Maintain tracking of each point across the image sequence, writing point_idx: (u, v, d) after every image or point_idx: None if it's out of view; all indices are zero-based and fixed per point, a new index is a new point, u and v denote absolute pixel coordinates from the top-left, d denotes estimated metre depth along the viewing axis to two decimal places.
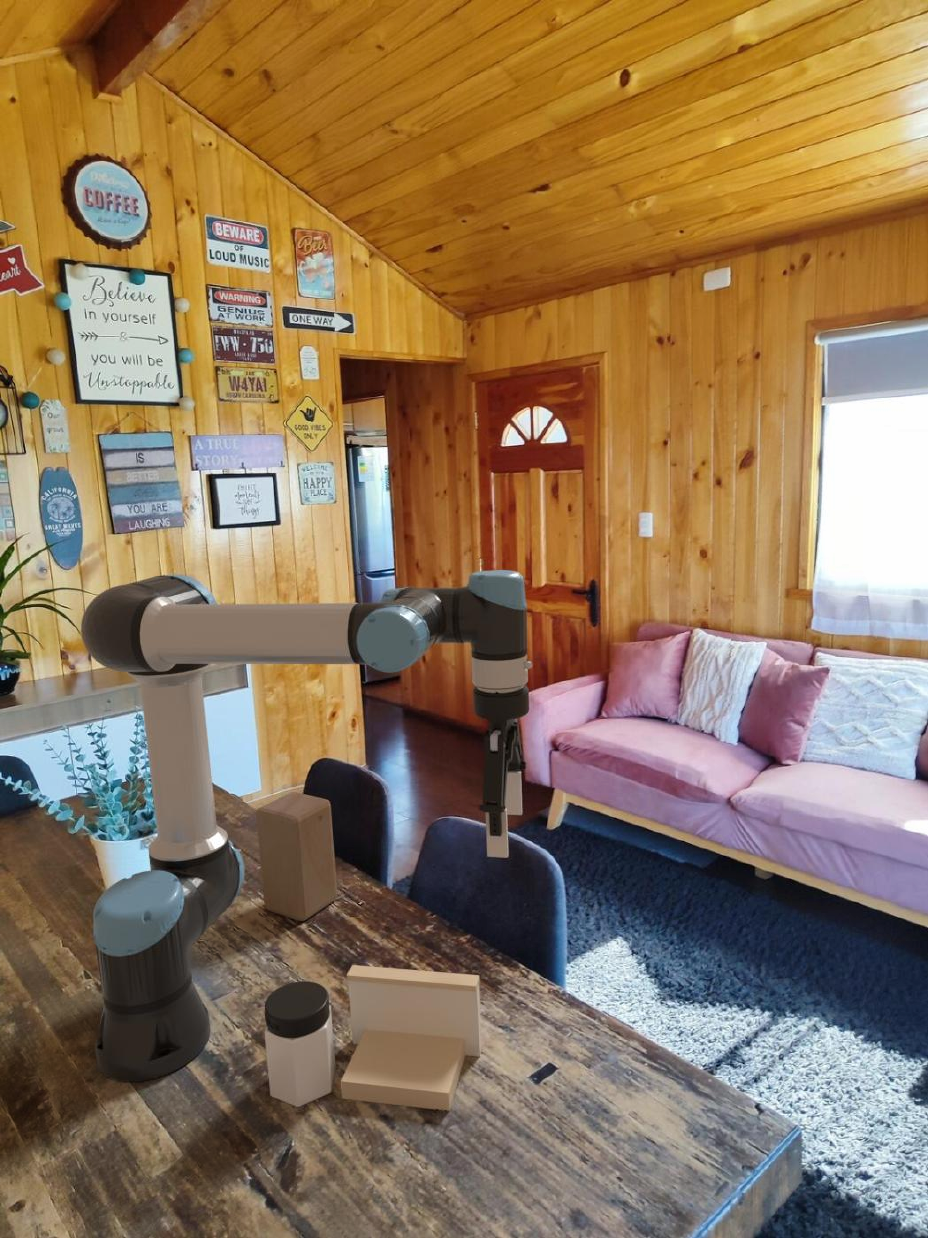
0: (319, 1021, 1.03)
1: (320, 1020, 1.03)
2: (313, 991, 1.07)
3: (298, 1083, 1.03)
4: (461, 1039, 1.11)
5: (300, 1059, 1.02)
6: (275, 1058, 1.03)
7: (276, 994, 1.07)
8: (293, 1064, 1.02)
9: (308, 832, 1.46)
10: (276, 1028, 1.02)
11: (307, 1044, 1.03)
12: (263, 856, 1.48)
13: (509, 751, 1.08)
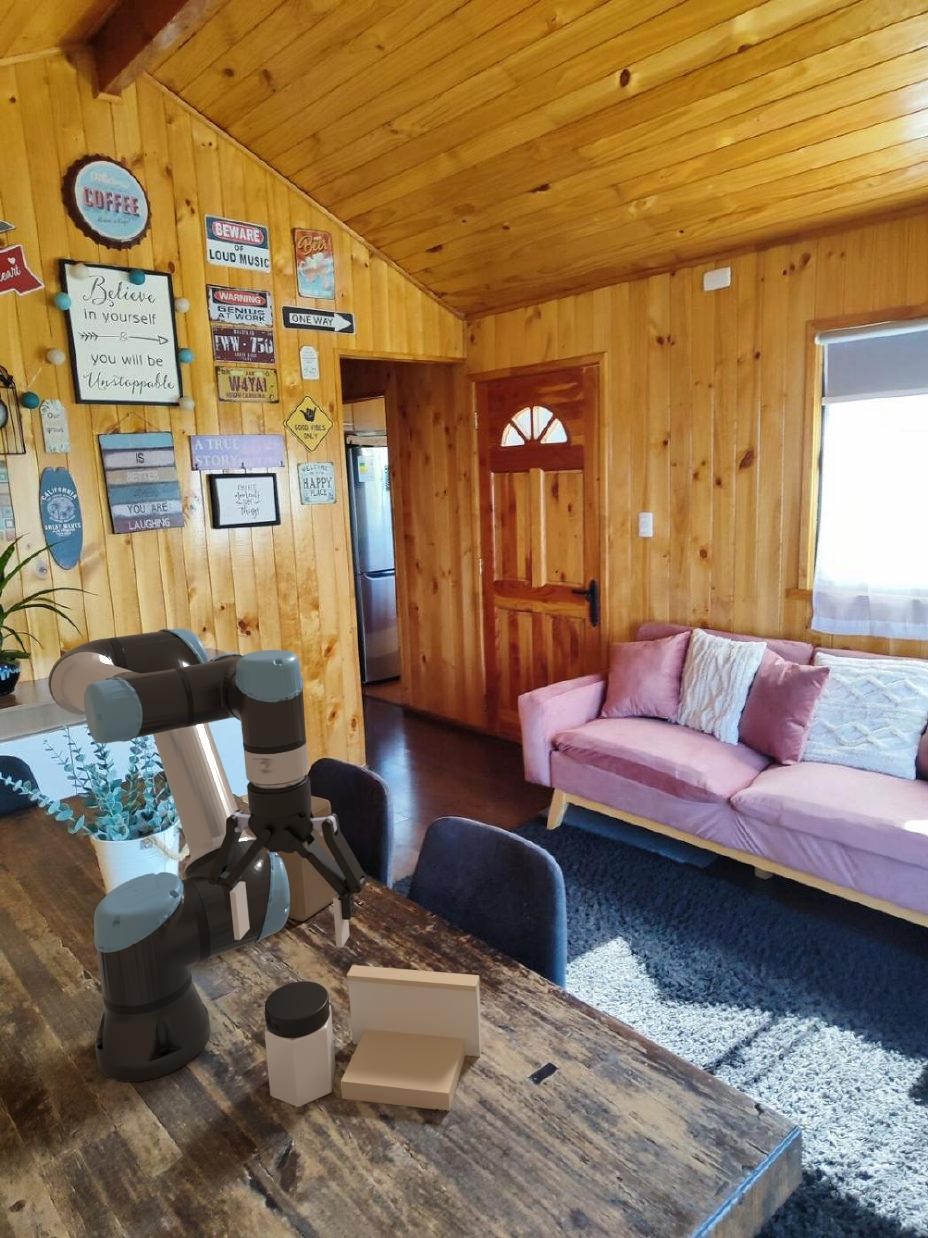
0: (319, 1021, 1.03)
1: (320, 1020, 1.03)
2: (313, 991, 1.07)
3: (298, 1083, 1.03)
4: (461, 1039, 1.11)
5: (300, 1059, 1.02)
6: (275, 1058, 1.03)
7: (276, 994, 1.07)
8: (293, 1064, 1.02)
9: None
10: (276, 1028, 1.02)
11: (307, 1044, 1.03)
12: None
13: None
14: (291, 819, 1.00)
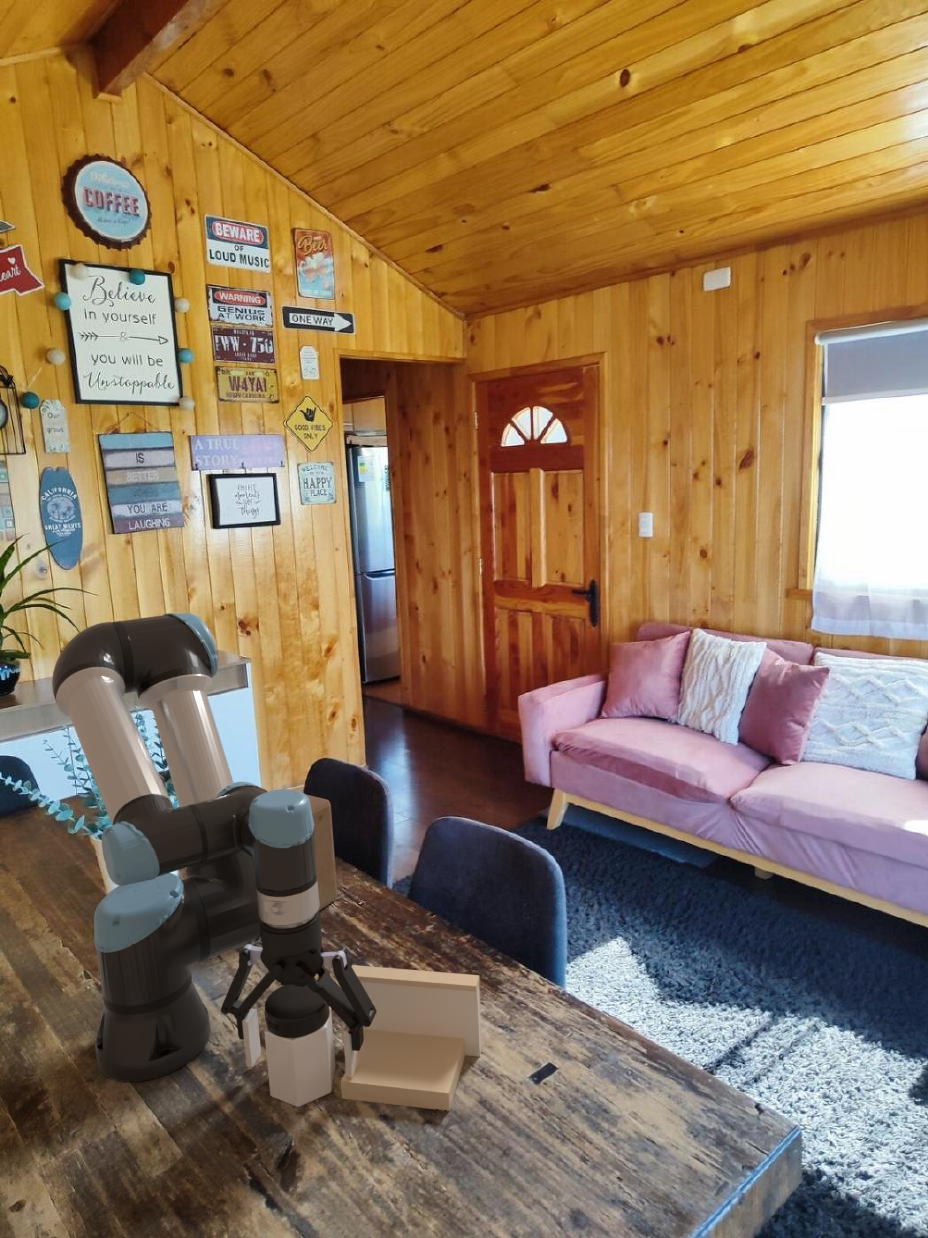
0: (319, 1021, 1.03)
1: (320, 1020, 1.03)
2: None
3: (298, 1083, 1.03)
4: (461, 1039, 1.11)
5: (300, 1059, 1.02)
6: (275, 1058, 1.03)
7: (276, 994, 1.07)
8: (293, 1064, 1.02)
9: None
10: (276, 1028, 1.02)
11: (307, 1044, 1.03)
12: None
13: (264, 977, 1.04)
14: (302, 955, 1.03)
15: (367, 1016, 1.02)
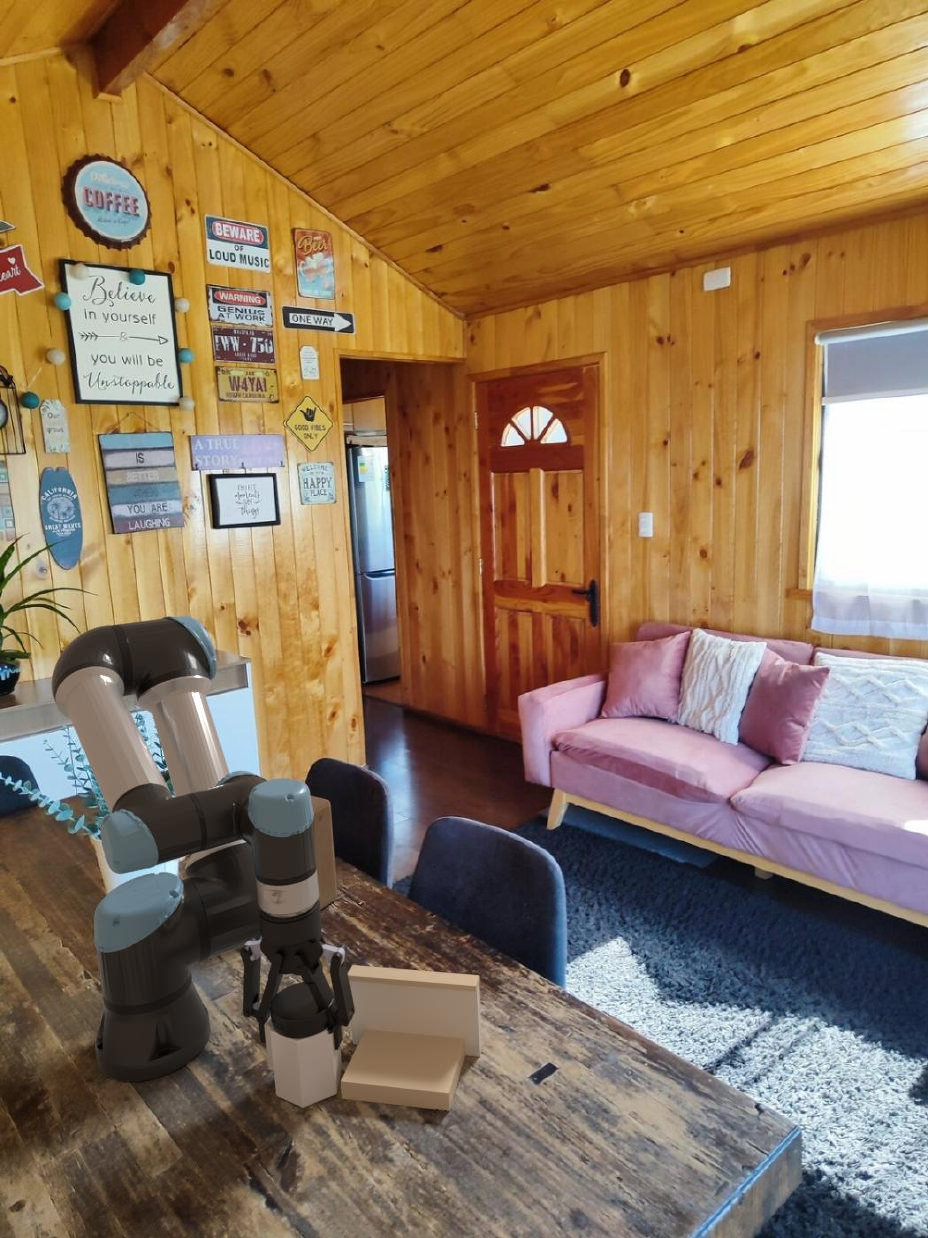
0: (324, 1022, 1.03)
1: (325, 1021, 1.03)
2: None
3: (303, 1084, 1.02)
4: (461, 1039, 1.11)
5: (305, 1060, 1.02)
6: (280, 1057, 1.03)
7: (283, 994, 1.07)
8: (298, 1065, 1.02)
9: None
10: (281, 1028, 1.02)
11: (312, 1045, 1.02)
12: None
13: None
14: (305, 942, 1.02)
15: (347, 1017, 1.03)
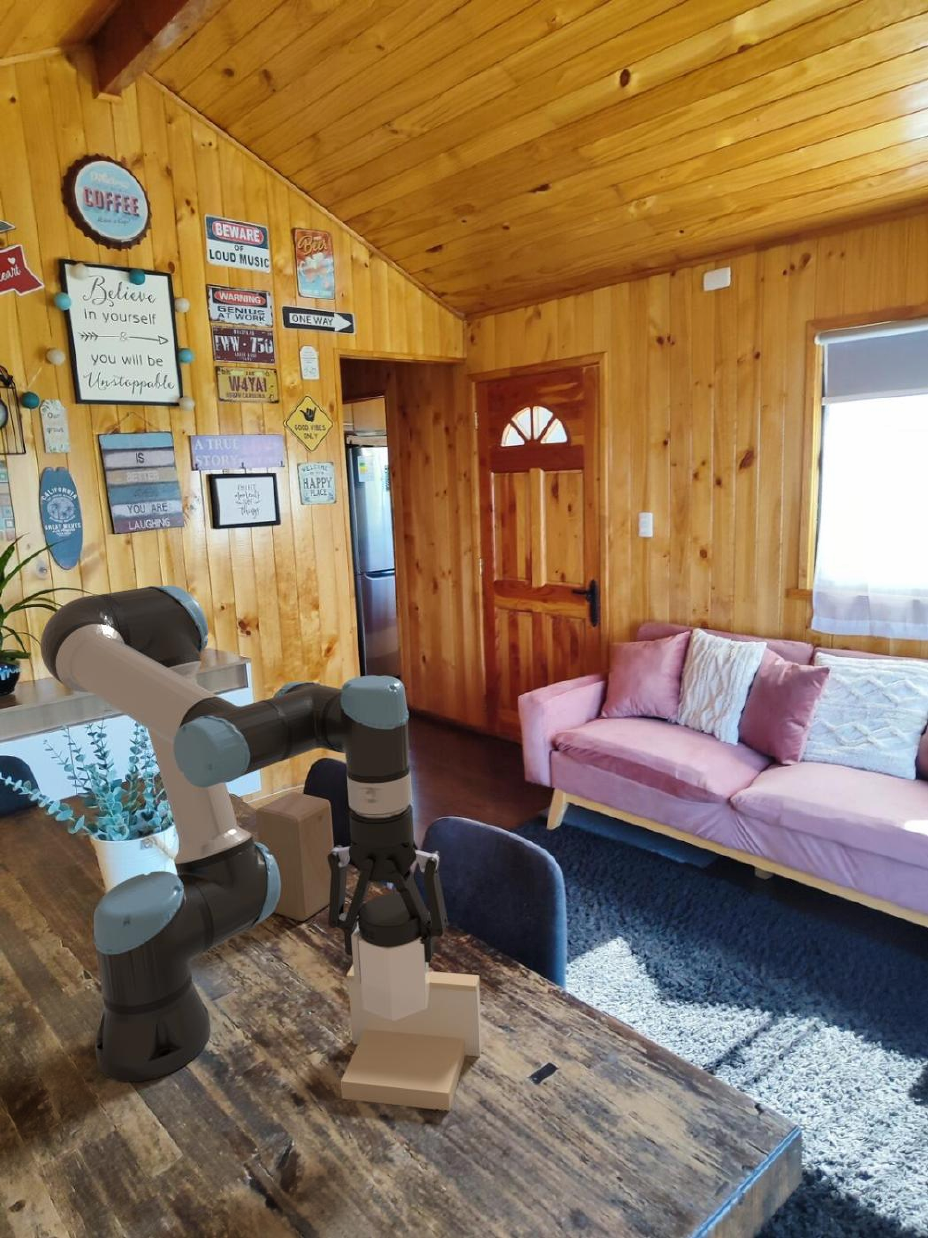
0: (416, 931, 0.98)
1: (417, 930, 0.98)
2: None
3: (393, 995, 0.97)
4: (461, 1039, 1.11)
5: (396, 970, 0.97)
6: (369, 968, 0.98)
7: (370, 904, 1.01)
8: (389, 974, 0.97)
9: (308, 832, 1.46)
10: (371, 936, 0.97)
11: (403, 954, 0.97)
12: None
13: (359, 878, 0.99)
14: (397, 846, 0.97)
15: (442, 926, 0.98)
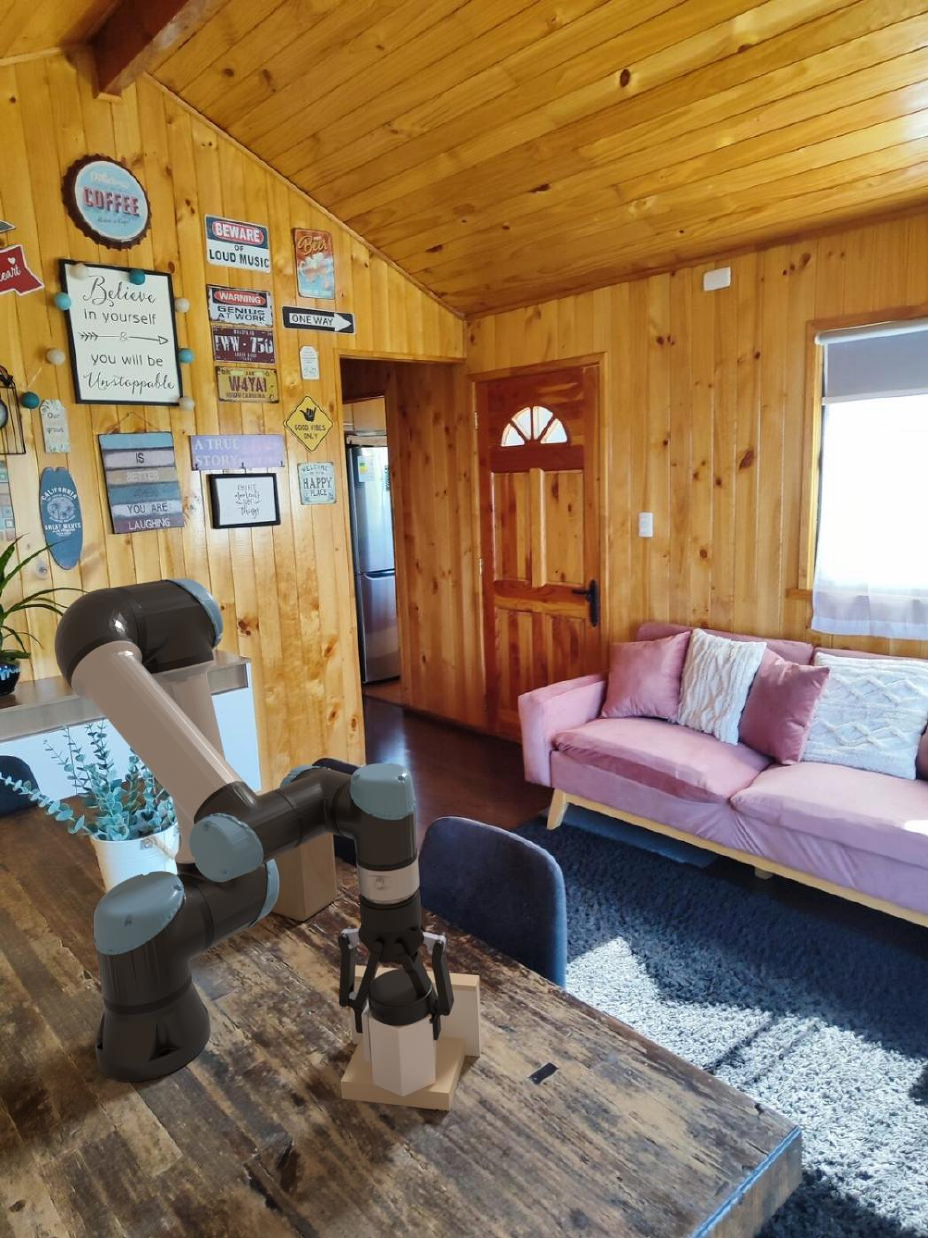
0: (424, 1009, 1.01)
1: (425, 1008, 1.01)
2: None
3: (403, 1072, 1.00)
4: (461, 1039, 1.11)
5: (405, 1048, 1.00)
6: (379, 1045, 1.01)
7: (379, 980, 1.04)
8: (399, 1053, 1.00)
9: None
10: (381, 1015, 1.00)
11: (412, 1033, 1.00)
12: None
13: None
14: (406, 929, 1.00)
15: (449, 1006, 1.01)
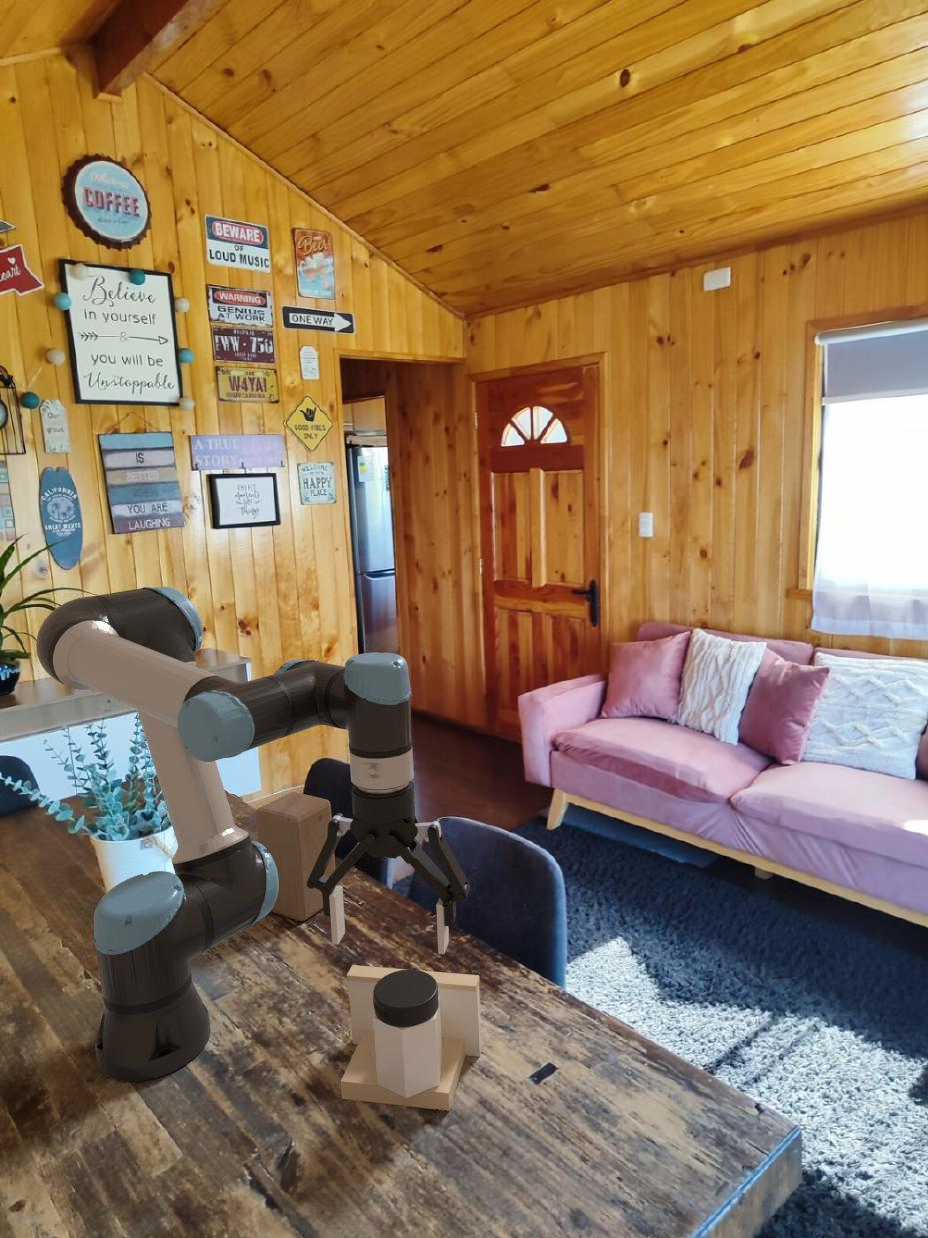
0: (429, 1011, 1.00)
1: (430, 1010, 1.00)
2: (422, 980, 1.04)
3: (406, 1074, 1.00)
4: (461, 1039, 1.11)
5: (409, 1049, 1.00)
6: (383, 1046, 1.01)
7: (384, 981, 1.04)
8: (402, 1054, 0.99)
9: (308, 832, 1.46)
10: (385, 1016, 1.00)
11: (416, 1034, 1.00)
12: None
13: (355, 848, 0.99)
14: (396, 824, 0.98)
15: (463, 889, 0.98)
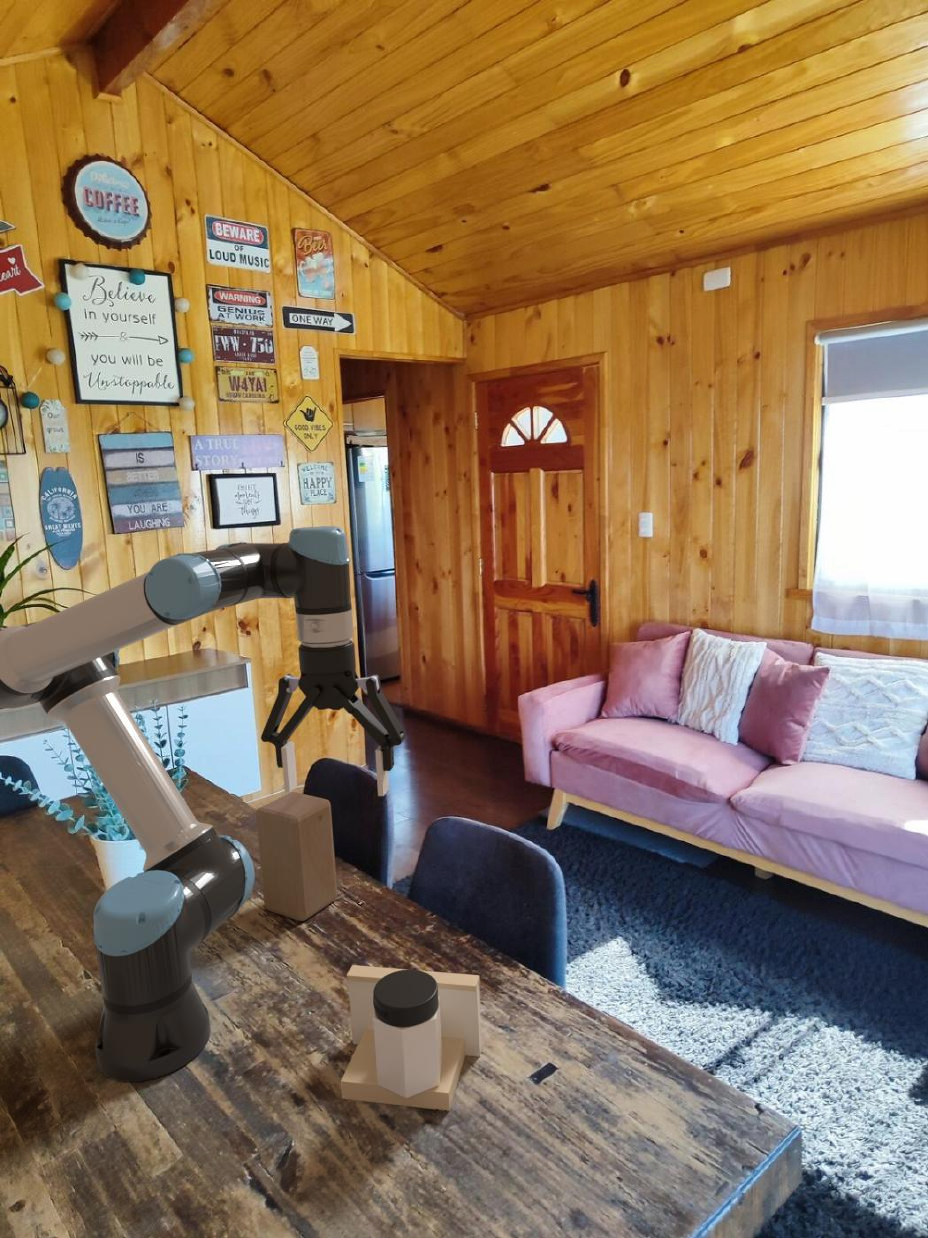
0: (429, 1011, 1.00)
1: (430, 1010, 1.00)
2: (422, 980, 1.04)
3: (406, 1074, 1.00)
4: (461, 1039, 1.11)
5: (409, 1049, 1.00)
6: (383, 1046, 1.01)
7: (384, 981, 1.04)
8: (402, 1054, 0.99)
9: (308, 832, 1.46)
10: (385, 1016, 1.00)
11: (416, 1034, 1.00)
12: (263, 856, 1.48)
13: None
14: (338, 678, 1.10)
15: (398, 734, 1.10)
